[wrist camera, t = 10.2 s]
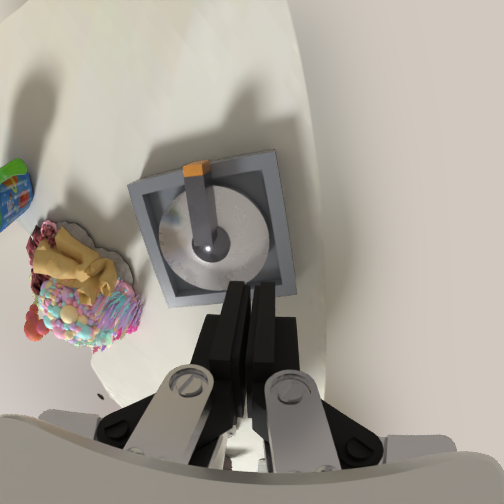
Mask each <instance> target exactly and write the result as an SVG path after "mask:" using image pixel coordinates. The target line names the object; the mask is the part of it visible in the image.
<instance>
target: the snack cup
mask: <svg viewBox="0 0 504 504" xmlns="http://www.w3.org/2000/svg"><path fill="white" fill-rule="evenodd" d="M29 177H30V176H29V174H28V173H27V167H26V165H25V163H24V162H23V161H22V160H21V159H19V158H17V159H14V160H13V161H11V162H9V163H8V164H6V165H5V166H3V167H1V168H0V232H2V231H3V230H4V229H5V228H6V227H7V226H9V225H10V224H11V223H12V222H13V221H14V220H15V219H17V218H18V217H19V216H20V215H21V214H23V213H24V212H25V211H26V210H27V209H28V208H29V206H30V203H31V201H32V198H33V195H32V186H31V181H30V178H29Z"/></svg>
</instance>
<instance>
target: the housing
mask: <svg viewBox="0 0 504 504" xmlns="http://www.w3.org/2000/svg"><path fill="white" fill-rule="evenodd" d="M210 170H211V173H212V182H213V183H223V184H227V185H231V186H233V187H236V188H238V189H240V190H242V191H244V192H245V193H246V194H248V195H249V196H250V197H251V198H253V199H254V200H255V201H256V203H257V204H258V205H259V206H260V208H261V209H262V211H263V213H264V215H265V217H266V219H267V222H268V226H269V233H270V241H269V251H268V256H267V259H266V261H265V263H264V265H263V267H262V269H261V270H260V271H259V273H258V274H257V275H256V276H255V277H254V278H253V279H251V280H250V281H249V282H247V283H246V284H245V285H250V288H251V300H253V295H254V287H255V285H260V283H261V282H275V297H281V296H289V295H296V294H297V288H296V280H295V272H294V265H293V258H292V251H291V244H290V238H289V231H288V224H287V218H286V212H285V205H284V199H283V193H282V187H281V181H280V176H279V170H278V164H277V159H276V153H275V149H273V150H267V151H261V152H255V153H250V154H244V155H239V156H234V157H229V158H224V159H219V160H214V161H210ZM127 187H128V190H129V194H130V197H131V201H132V204H133V207H134V211H135V214H136V217H137V221H138V224H139V227H140V230H141V233H142V236H143V239H144V242H145V245H146V248H147V251H148V254H149V257H150V260H151V262H152V265H153V268H154V271H155V273H156V276H157V279H158V281H159V284H160V287H161V289H162V292H163V295H164V297H165V300H166V302H167V305H168V307H169V308H176V307H188V306H199V305H210V304H220V303H224V299H225V295H226V292H227V290H221V291H216V290H207V289H203V288H199V287H197V286H194V285H192V284H190V283H188V282H187V281H185V280H184V279H182V278H181V277H180V276H178V275H177V274H176V273H175V272H174V271H173V270H172V268H171V267H170V266H169V264H168V263H167V261H166V260H165V258H164V256H163V253H162V251H161V247H160V242H159V226H160V222H161V218H162V216H163V214H164V212H165V210H166V208H167V207H168V206H169V204H170V203H171V202H172V201H173V200H174V199H175V198H176V197H178V196H179V195H180V194H181V193H183V192H184V191H186V190H185V184H184V171H183V168H179V169H175V170H171V171H167V172H164V173H160V174H156V175H152V176H149V177H145V178H142V179H139V180H137V181H134V182H132V183H130V184H128V185H127Z"/></svg>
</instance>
